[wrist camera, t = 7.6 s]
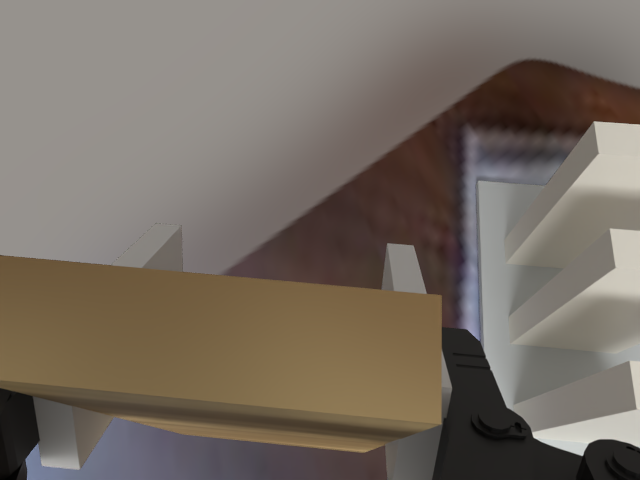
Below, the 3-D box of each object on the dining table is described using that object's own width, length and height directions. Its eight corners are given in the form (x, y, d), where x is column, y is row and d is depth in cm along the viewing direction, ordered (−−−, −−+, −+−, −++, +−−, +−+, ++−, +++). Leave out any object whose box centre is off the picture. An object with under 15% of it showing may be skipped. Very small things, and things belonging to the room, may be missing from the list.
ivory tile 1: (629, 447, 28) (827, 427, 17) (515, 436, 28) (636, 409, 17) (625, 415, 28) (813, 377, 17) (513, 405, 29) (629, 360, 18)
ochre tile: (363, 452, 17) (441, 424, 6) (183, 434, 17) (-51, 375, 6) (366, 402, 18) (441, 295, 7) (192, 384, 18) (-5, 254, 7)
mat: (684, 661, 24) (693, 666, 24) (490, 638, 25) (494, 642, 24) (612, 195, 35) (617, 190, 34) (475, 185, 35) (478, 180, 35)
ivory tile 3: (605, 271, 32) (751, 164, 21) (505, 263, 32) (598, 153, 21) (601, 248, 32) (741, 132, 22) (504, 240, 33) (594, 121, 22)
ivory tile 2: (616, 353, 30) (785, 281, 19) (509, 343, 30) (615, 267, 19) (612, 326, 30) (773, 241, 20) (508, 316, 31) (609, 228, 20)
